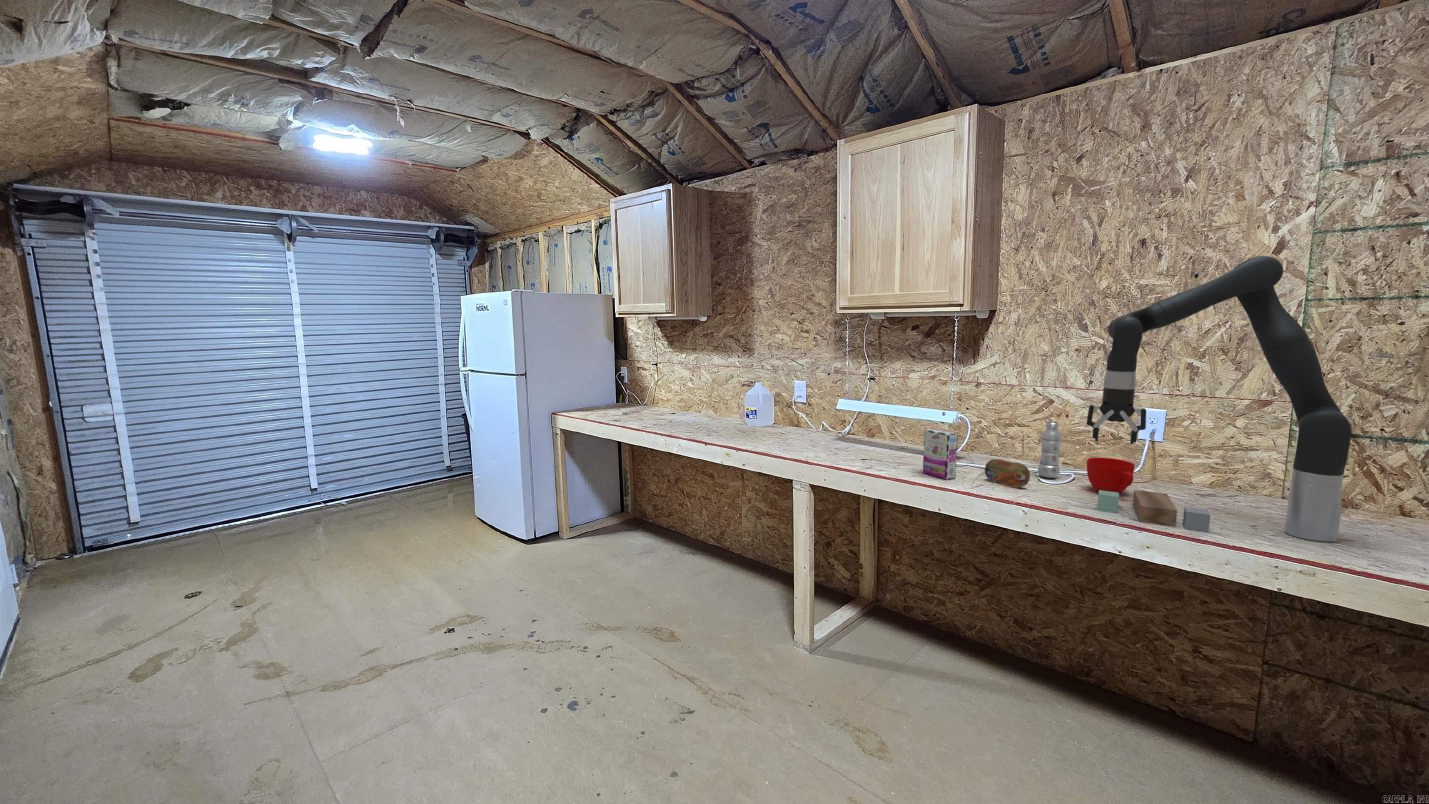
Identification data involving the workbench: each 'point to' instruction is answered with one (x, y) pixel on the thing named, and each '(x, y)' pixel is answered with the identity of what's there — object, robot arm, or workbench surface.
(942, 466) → the candy bar box
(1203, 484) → the workbench surface
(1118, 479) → the ceramic cup
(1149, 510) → the walnut block
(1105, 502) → the green cube
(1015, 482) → the tin
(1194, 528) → the slate cube
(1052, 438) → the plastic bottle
